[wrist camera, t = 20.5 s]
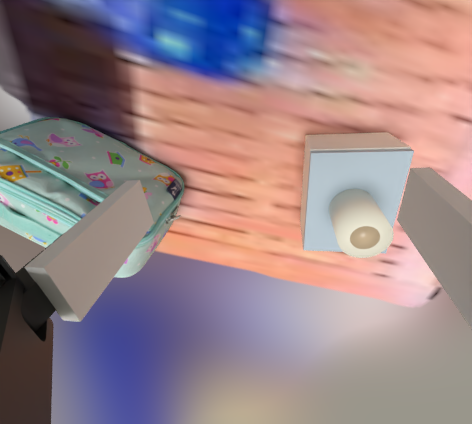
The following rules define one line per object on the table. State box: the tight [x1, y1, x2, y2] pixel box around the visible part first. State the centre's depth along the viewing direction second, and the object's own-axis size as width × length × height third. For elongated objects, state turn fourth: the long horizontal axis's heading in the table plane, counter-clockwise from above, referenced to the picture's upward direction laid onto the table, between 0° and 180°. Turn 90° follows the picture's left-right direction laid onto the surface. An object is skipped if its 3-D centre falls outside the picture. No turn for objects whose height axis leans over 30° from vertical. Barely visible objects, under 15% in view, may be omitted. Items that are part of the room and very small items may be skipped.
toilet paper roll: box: [329, 189, 393, 258], centre depth 33 cm, size 6×6×7 cm
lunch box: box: [0, 117, 184, 278], centre depth 39 cm, size 27×10×21 cm, turn 63°
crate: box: [300, 132, 411, 242], centre depth 40 cm, size 16×12×8 cm
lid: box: [303, 149, 414, 253], centre depth 36 cm, size 16×12×1 cm
